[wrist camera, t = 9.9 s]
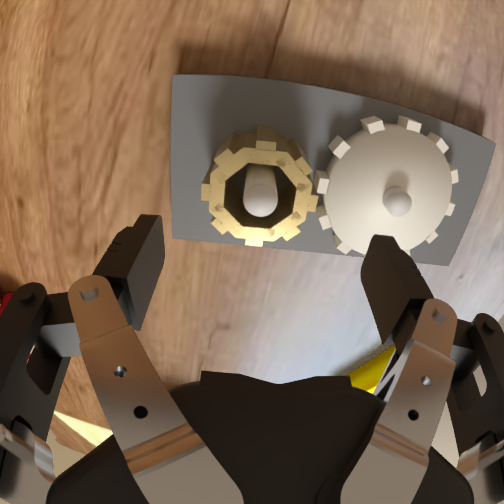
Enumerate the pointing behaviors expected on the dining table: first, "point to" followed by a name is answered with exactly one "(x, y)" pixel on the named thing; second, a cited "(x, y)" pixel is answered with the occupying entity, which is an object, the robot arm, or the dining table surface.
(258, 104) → the gear board
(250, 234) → the brass gear
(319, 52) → the dining table surface
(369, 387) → the element tile
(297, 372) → the dining table surface
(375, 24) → the dining table surface
